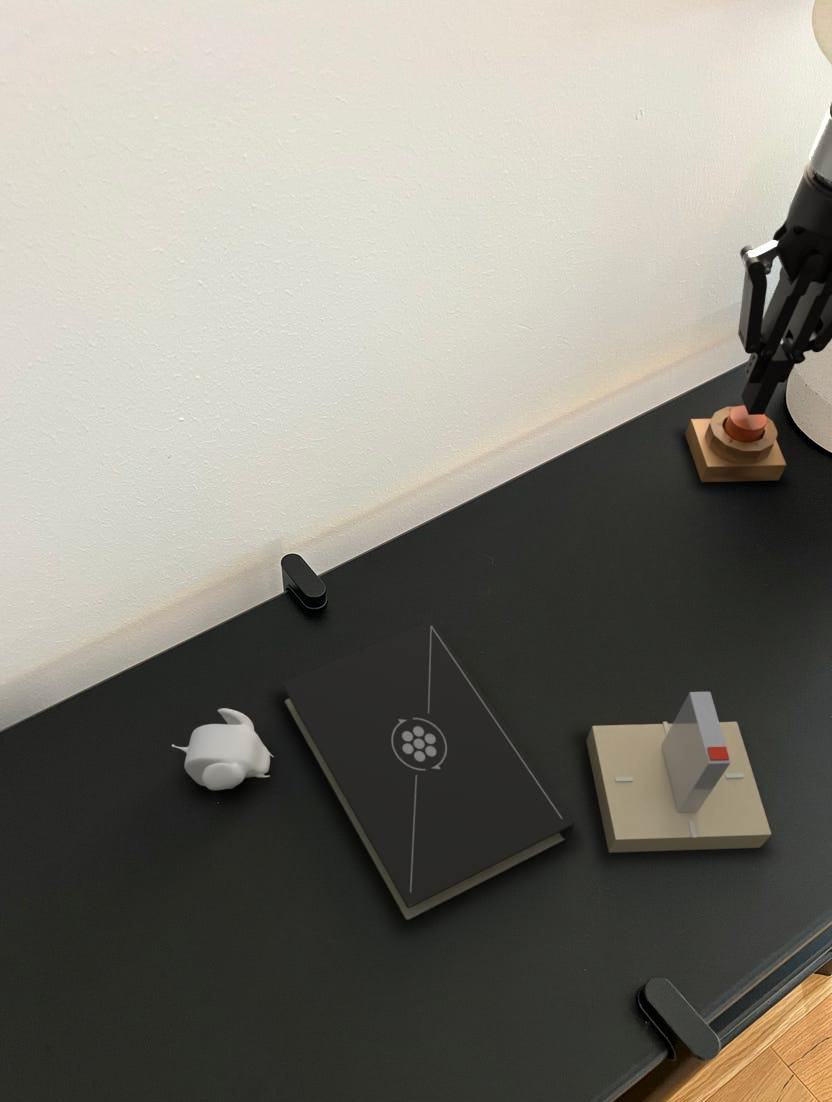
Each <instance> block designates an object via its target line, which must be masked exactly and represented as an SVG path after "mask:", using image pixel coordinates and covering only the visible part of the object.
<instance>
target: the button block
mask: <svg viewBox="0 0 832 1102" xmlns="http://www.w3.org/2000/svg"><path fill="white" fill-rule="evenodd" d="M735 407H737V406H725V407H723V408H721V409H719V410H717V411H715V412H713V415H712V416H711V418H691V419H690V421H689V423H688V426H687V428H686V431H685V433H684V435H685V439H686V441H687V444H688V447H689V450H690V454H691V456H692V459H693V462H694V465H695V467H696V470H697V471H696V472H697V474H698V476H699V480H700V482H701V483H718V482H719V483H724V482H768V481H773V482H774V481H779V480H780V478H781V477H782V474H783V472H784V470H785V469H786V467H787V463H786V460H785V458H784V455H783V454H782V453H783V452H782V450H781V448H780V446H779V444H778V441H777V437H778V434H779V432H778V430H777V427H776V425H775V423H774V421H773V420H771V418H769V417H768V416H766V419H767V423H766V425H765V428H764V430H763V432H762V434H761V436H760V438H759V439H758V440H756V441H754V442H750V443H743V442H740V441H737V440H734V439H732V438H731V437H730V436H728V434H727V433H726V431H725V424H726V421H727V419H728V417H729V414H730V412H731V410H732V409H734V408H735Z"/></svg>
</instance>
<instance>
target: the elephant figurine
mask: <svg viewBox="0 0 832 1102" xmlns="http://www.w3.org/2000/svg"><path fill="white" fill-rule="evenodd" d="M216 712H217V713H219V714H220V716H221V717H222V718H223V719H224V721H225V722H226V724H225V723H209V724H203V725H200V726H198V727H196V728H195V729H194V730H193V731H192V733H191V735H190V739H189V743H188V745H187V746H184V747H183V746H176V745H175V744H171V747H172V748H176V749H179V750H181V751H183V752H184V753H185V754H186V756H185V759H184V764H183V765H184V767H183V768H184V770H185V772H186V773H187V774H188V776H190V777H191V779H192V780H193V781H195V783H196V784H198V785H199V786H201V787H206V788H207V789H208V790H210V791H222V790H227V789H228V790H232V789H234V788H236V786H239V785H240V784H241V783H242V782H243V781H244V780H245V779H247V778H254V777H256V778H263V779H264V778H270V775H265V774H267V773H269V770H270V766H271V757H272V758H275V756H273V754H271V752H270V751H269V749H268V748H267V747H266V746H265V744H264V743H263V742H262V739H261V738H260V736H259V735H258V734H257V732H256V731H255V727H254V723H253V721H252V720H251V719H250V718H249V717H248V716H247V715H245V714H244V713H242V712H241V711H238V710H234V709H231V708H227V707H224V708H223V707H222V708H219V709H217V711H216Z"/></svg>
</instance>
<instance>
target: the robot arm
mask: <svg viewBox="0 0 832 1102" xmlns="http://www.w3.org/2000/svg"><path fill="white" fill-rule="evenodd" d="M808 159H809V162H807V164H806V165H805V166H804V169H803V171H802V173H801V176H800V178H799V180H798V183H797V185H796V188H795V191H794V193H793V196H792V198H791V201H790V204H789V207H788V212H787V216H786V219H785V220H784V222H783V223H782V225H780V226H779V227H778V228H777V230H776V231H775V232H774V234H773V237H772V240H771V241H769V242H766V243H765V244H762V245H761V246H758V247H757V248H755V246H754V245H752V244H748V245H745V246H744V247H742V248H741V250H740V252H739V256H740V259H741V261H742V264H743V267H744V277H743V288H742V295H741V303H740V313H739V321H738V322H739V323H738V332H737V334H738V338H739V340H740V342H741V346H742V347H743V350H744V352H745V353H746V354H748V355H750V356H749V357H748V361H747V362H746V365H745V367H744V375H745V378H746V380H747V382H746V384H745V386H744V389H743V390H742V393H741V400H742V402H743V405H744V406H745V407H746V410H747V412H748V415H765V413H766V411H767V408H768V405H769V404H770V402H771V399H772V398H773V395H774V393H775V391H776V388H777V387H778V384H780V383H782V384H783V383H785V382H786V381H787V380H788V379H789V377H790V375H791V374H792V371H793V369H794V367H795V365H799V364H802V363H804V362H805V361H806V359H807V358H806V356H805V353H806V352H810V351H812V352H813V353H820V352H822V351H823V350H824V349H826V348H827V346H828V345H829V344H830V342H831V341H832V102H831V103H830V105H829V107H828V109H827V112H826V114H825V116H824V119H823V120H822V123H821V126H820V128H819V131H818V133H817V135H816V138H815V140H814V143H813V145H812V148H811V150H810V153H809V156H808ZM777 257H778V260H779V263H780V265H781V268H780V270H779V275H778V276H779V277H778V278H779V279H778V282H777V284H776V286H775V289H774V292H773V293H772V296H771V299H770V300H769V303H768V305H767V308H766V311H765V307H766V297H767V290H768V278H767V275H770V274H771V273H772V268H773V265H774V264H773V262H774V260H775V259H776V258H777ZM764 312H765V313H764Z"/></svg>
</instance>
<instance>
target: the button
mask: <svg viewBox="0 0 832 1102" xmlns="http://www.w3.org/2000/svg"><path fill="white" fill-rule="evenodd" d="M766 417H767V415H766V414H764V415H748V412H747V410H746V407H745V405H744V404H743V405H738V406H737V407H735V408H734V409H732V410H731V412H730V414H729V417H728V419H727V421H726V424H725V431H726V433H727V434H728V436H730V437H731V438H732V439H734V440H737V441H740V442H743V443H750V442H754V441H756V440H758V439H759V438H760V436H761V434H762V432H763V430H764V428H765V425H766V423H767V419H766Z"/></svg>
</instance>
